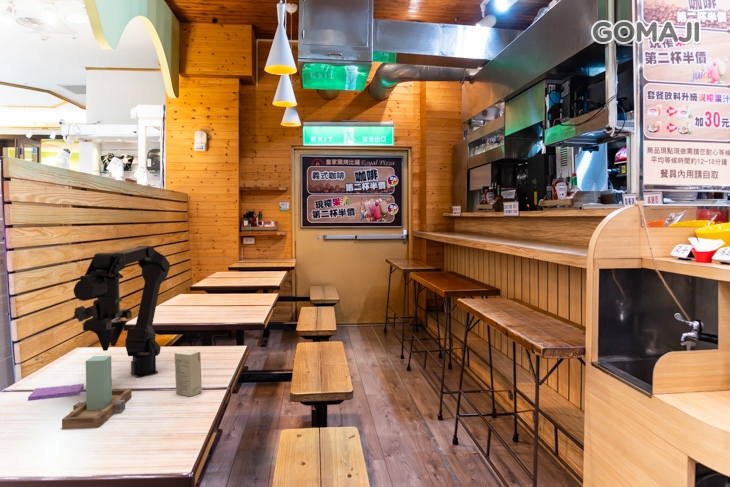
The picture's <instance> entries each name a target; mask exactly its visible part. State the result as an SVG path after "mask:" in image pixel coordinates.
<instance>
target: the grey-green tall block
mask: <svg viewBox="0 0 730 487" xmlns="http://www.w3.org/2000/svg"><path fill="white" fill-rule="evenodd" d="M112 376H113V375H112V355H99V356H98V355H94V356H92V357H90V358H89V359H87V360H85V384H86V386H85V388H86V392H85V394H86V401H87V411H97V410H103V409H105V408H106V407H107V406H108V405H109V404H110V403H112V390H113V381H112V380H113V379H112V378H113V377H112Z"/></svg>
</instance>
